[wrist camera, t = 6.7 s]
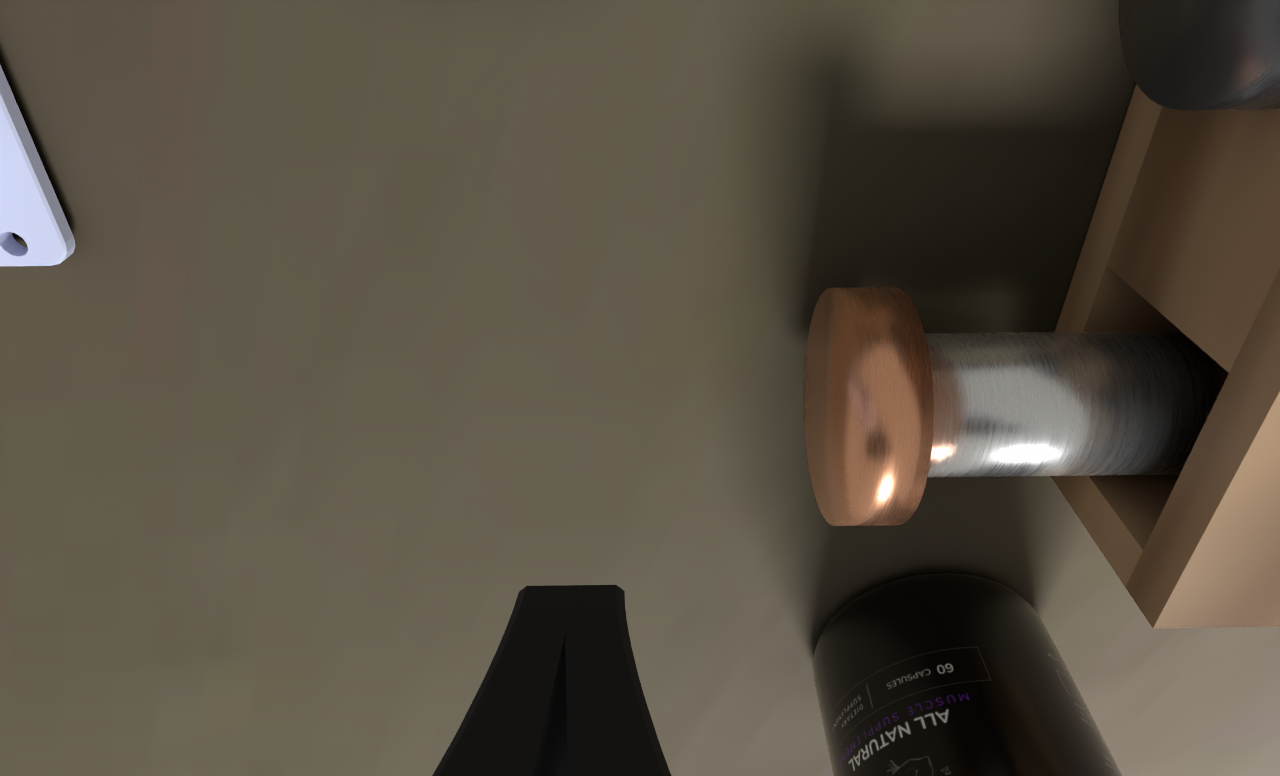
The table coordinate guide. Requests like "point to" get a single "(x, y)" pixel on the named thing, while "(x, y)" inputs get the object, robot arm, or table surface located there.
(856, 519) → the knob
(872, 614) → the supplement bottle
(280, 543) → the table surface
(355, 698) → the table surface
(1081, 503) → the catch block
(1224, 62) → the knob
